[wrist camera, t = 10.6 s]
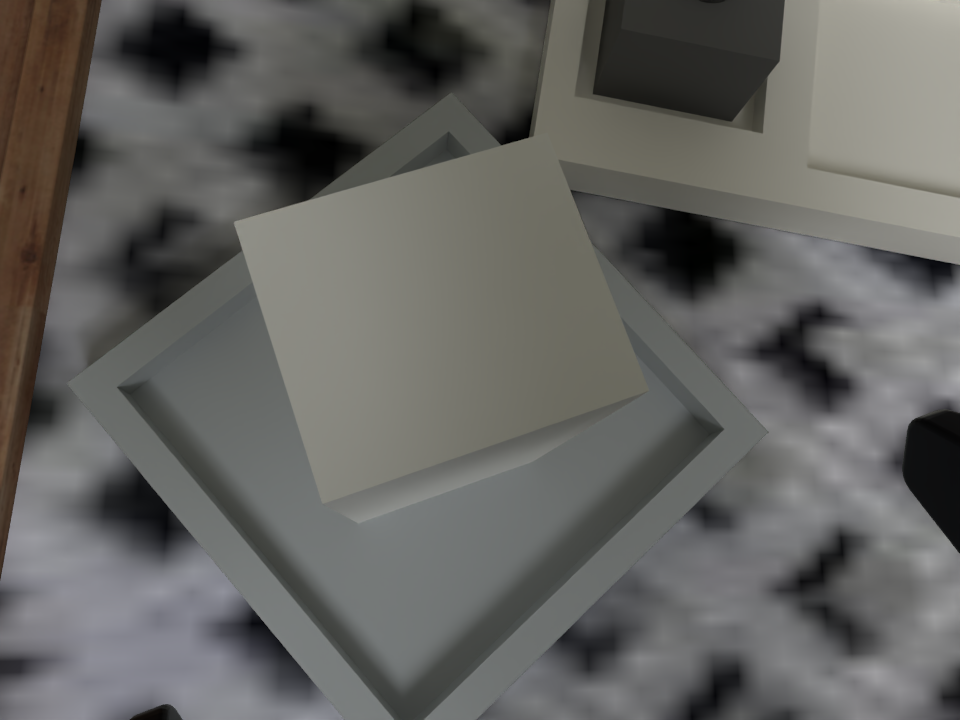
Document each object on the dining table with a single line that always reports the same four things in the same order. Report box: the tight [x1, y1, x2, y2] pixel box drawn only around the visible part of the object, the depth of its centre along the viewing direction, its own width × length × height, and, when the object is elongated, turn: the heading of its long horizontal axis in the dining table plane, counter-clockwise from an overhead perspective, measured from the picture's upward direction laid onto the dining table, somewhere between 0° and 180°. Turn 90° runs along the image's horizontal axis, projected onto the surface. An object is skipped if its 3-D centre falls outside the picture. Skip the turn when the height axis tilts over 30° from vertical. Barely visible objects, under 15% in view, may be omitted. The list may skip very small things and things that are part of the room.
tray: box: [67, 92, 768, 720], centre depth 21 cm, size 12×12×1 cm
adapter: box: [234, 133, 649, 523], centre depth 16 cm, size 4×5×10 cm
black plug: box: [593, 0, 785, 122], centre depth 22 cm, size 4×4×4 cm
